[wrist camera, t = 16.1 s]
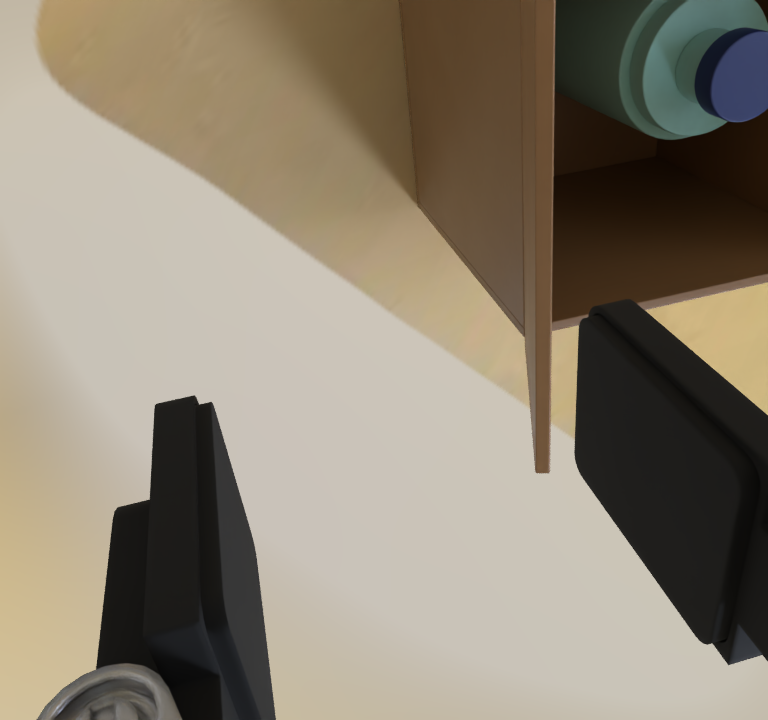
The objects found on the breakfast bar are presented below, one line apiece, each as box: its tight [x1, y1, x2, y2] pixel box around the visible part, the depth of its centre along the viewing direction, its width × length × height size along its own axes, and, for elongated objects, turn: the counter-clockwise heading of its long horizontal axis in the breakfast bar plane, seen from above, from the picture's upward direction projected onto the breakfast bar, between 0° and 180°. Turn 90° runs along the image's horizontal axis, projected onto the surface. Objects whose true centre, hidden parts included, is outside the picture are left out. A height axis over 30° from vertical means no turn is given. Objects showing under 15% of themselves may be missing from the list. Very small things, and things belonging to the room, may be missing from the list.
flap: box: [521, 0, 556, 473], centre depth 20 cm, size 7×15×1 cm
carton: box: [399, 0, 768, 337], centre depth 30 cm, size 14×15×14 cm
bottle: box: [554, 0, 768, 140], centre depth 31 cm, size 6×6×12 cm
